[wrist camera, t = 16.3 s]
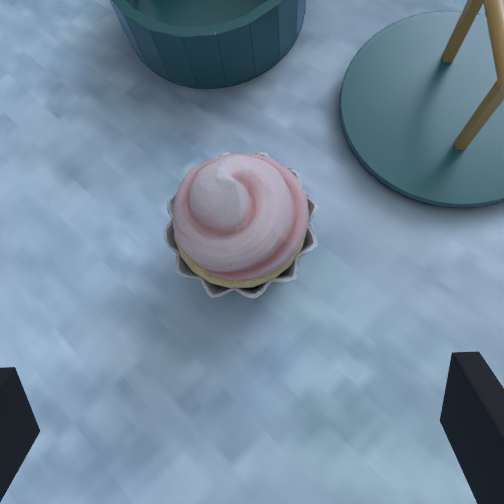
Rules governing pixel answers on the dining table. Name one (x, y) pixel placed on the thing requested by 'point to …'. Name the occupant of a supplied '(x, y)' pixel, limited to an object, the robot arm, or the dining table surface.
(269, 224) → the cupcake
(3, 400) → the robot arm
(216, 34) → the tin
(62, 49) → the dining table surface
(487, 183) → the tin lid
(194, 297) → the dining table surface
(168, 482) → the dining table surface
